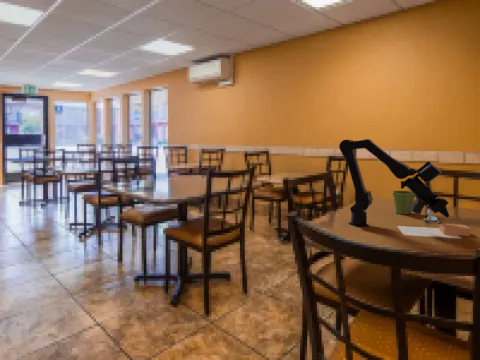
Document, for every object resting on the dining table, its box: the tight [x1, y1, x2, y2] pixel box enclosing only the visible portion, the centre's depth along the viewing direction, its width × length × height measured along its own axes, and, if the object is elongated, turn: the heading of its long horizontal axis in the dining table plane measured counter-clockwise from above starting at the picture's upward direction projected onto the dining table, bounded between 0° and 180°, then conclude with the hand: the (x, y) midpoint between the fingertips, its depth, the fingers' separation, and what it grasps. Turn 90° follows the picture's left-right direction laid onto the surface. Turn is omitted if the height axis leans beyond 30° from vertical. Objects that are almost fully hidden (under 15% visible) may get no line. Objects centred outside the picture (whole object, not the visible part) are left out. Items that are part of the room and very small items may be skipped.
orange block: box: [439, 223, 471, 237], centre depth 131 cm, size 3×6×9 cm
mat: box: [396, 225, 463, 239], centre depth 134 cm, size 20×14×1 cm
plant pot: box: [391, 190, 416, 215], centre depth 169 cm, size 12×12×11 cm
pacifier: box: [423, 208, 441, 224], centre depth 150 cm, size 7×6×6 cm
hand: (448, 216), depth 131 cm, fingers closed
